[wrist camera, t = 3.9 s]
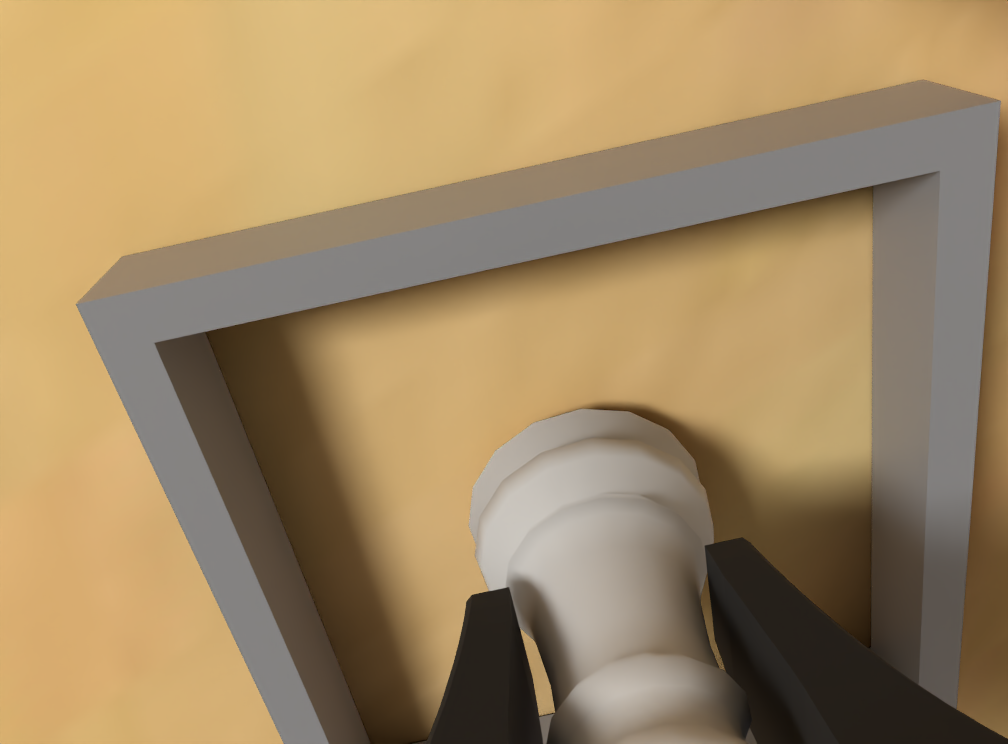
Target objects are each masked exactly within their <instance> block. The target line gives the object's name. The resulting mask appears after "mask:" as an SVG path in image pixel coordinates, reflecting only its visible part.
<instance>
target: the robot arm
mask: <svg viewBox="0 0 1008 744" xmlns="http://www.w3.org/2000/svg"><path fill="white" fill-rule="evenodd" d="M704 547H705V556H706V564H707V573H708V582H709V591H710V600H711V609H712V618H713V627H714V636H715V641H716V644H717V647H718V650H719V653H720V655H721V658H722V661H723V664H724V667H725V670H726V673H727V674H728V675H729V676H730V677H731V678H732V679H733V680H734V681H735V682H736V683H737V684H738V685H739V686H740V687H741V688H742V689H743V690H744V691H745V692H746V695H747V700H748V704H749V709H750V713H751V717H752V721H751V724H750V727H749V728H750V730H751V732H752V734H753V736H754V738H755V740H756V742H757V744H1008V739H1007V738H1005V737H1003V736H1001V735H999V734H998V733H996V732H994V731H992V730H990V729H988V728H987V727H985V726H983V725H981V724H980V723H978V722H976V721H975V720H973V719H971V718H970V717H968V716H967V715H965V714H963V713H962V712H960V711H958V710H957V709H955V708H954V707H952V706H950V705H949V704H947V703H945V702H944V701H942V700H941V699H939V698H938V697H936V696H935V695H933V694H932V693H930V692H929V691H927V690H926V689H924V688H923V687H921V686H920V685H918V684H917V683H915V682H914V681H912V680H911V679H909V678H908V677H907V676H905V675H904V674H902V673H901V672H899V671H898V670H897V669H895V668H894V667H893V666H891V665H890V664H888V663H887V662H886V661H884V660H883V659H882V658H880V657H879V656H878V655H876V654H875V653H874V652H873V651H871V650H870V649H869V648H867V647H866V646H865V645H863V644H862V643H861V642H859V641H858V640H857V639H856V638H854V637H853V636H852V635H851V634H849V633H848V632H847V631H846V630H844V629H843V628H842V627H841V626H840V625H838V624H837V623H836V622H835V621H834V620H833V619H831V618H830V617H829V616H828V615H827V614H825V613H824V612H823V611H822V610H821V609H820V608H818V607H817V606H816V605H815V604H814V603H813V602H811V601H810V600H809V599H808V598H807V597H806V596H805V595H804V594H802V593H801V592H800V591H799V590H798V589H797V588H796V587H795V586H794V585H793V584H792V583H790V582H789V581H788V580H787V579H786V578H785V577H784V576H783V575H782V574H781V573H780V572H779V571H778V570H777V569H776V568H775V567H774V566H773V565H772V564H771V563H770V562H769V561H768V560H766V559H765V557H764V556H763V555H762V554H761V553H760V552H759V551H758V550H757V549H756V548H755V547H754V546H753V545H752V544H751V543H750V542H749V541H747V540H745V539H744V538H738V539H733V540H728V541H724V542H719V543H714V544H709V545H705V546H704ZM426 744H543V737H542V731H541V725H540V719H539V713H538V707H537V701H536V695H535V689H534V684H533V678H532V674H531V670H530V666H529V662H528V658H527V654H526V650H525V647H524V643H523V639H522V635H521V631H520V627H519V623H518V619H517V615H516V612H515V608H514V604H513V600H512V596H511V592H510V588H509V587H507V588H502V589H497V590H493V591H488V592H483V593H479V594H474V595H472V596H471V597H470V598H469V599H468V601H467V602H466V610H465V617H464V622H463V627H462V632H461V636H460V640H459V645H458V648H457V652H456V656H455V660H454V663H453V667H452V670H451V673H450V677H449V680H448V683H447V686H446V689H445V693H444V696H443V699H442V702H441V705H440V708H439V711H438V714H437V716H436V719H435V722H434V724H433V727H432V729H431V732H430V735H429V737H428V740H427V742H426Z"/></svg>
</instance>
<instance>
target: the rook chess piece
mask: <svg viewBox="0 0 1008 744" xmlns="http://www.w3.org/2000/svg"><path fill="white" fill-rule="evenodd" d="M469 528H470V530H471V533H472V535H473V538H474V541H475V543H476V550H475V557H476V560H477V562H478V565H479V567H480V570H481V572H482V575H483V577H484V580H485V582H486V585H487V587H488V590H489V591H493V590H497V589H502V588H507V587H509V588H510V592H511V596H512V600H513V604H514V608H515V612H516V615H517V619H518V623H519V627H520V628H521V629H522V630H523V631H524V632H525V633H526V634H527V635H529V636H530V637H531V638H532V639H533V640H534V641H535V643H536V645H537V647H538V650H539V653H540V656H541V659H542V662H543V664H544V667H545V670H546V673H547V676H548V679H549V682H550V685H551V689H552V695H553V701H554V707H555V714H554V715H553V716H552V718H551V722H550V727H549V733H548V738H547V743H546V744H750V743H748V742H746V740H745V739H746V736H747V733H748V730H749V727H750V724H751V721H752V717H751V713H750V709H749V704H748V700H747V695H746V692H745V691H744V690H743V689H742V688H741V687H740V686H739V685H738V684H737V683H736V682H735V681H734V680H733V679H732V678H731V677H730V676H729V675H728V674H727V673H726V672H725V671H724V670H722V669H720V668H719V666H718V664H717V661H716V659H715V656H714V654H713V651H712V649H711V646H710V643H709V638H708V634H707V629H706V625H705V620H704V616H703V611H702V607H701V593H702V590H703V586H704V582H705V579H706V575H707V564H706V556H705V547H704V546H705V545H709V544H713V543H714V526H713V521H712V517H711V512H710V507H709V503H708V498H707V494H706V489H705V488H704V487H703V486H702V484H701V483H700V480H699V476H698V471H697V467H696V462H695V460H694V458H693V457H692V456H691V455H690V454H689V453H688V451H687V450H686V449H685V448H684V447H683V446H682V444H681V443H680V442H679V441H678V440H677V438H676V437H675V436H674V435H673V434H672V433H671V431H670V430H668V429H666V428H664V427H662V426H660V425H657V424H655V423H653V422H651V421H649V420H647V419H644V418H642V417H640V416H638V415H636V414H633V413H631V412H629V411H612V410H593V409H579V410H575V411H572V412H569V413H565V414H562V415H558V416H555V417H552V418H548V419H545V420H541V421H538V422H535V423H533V424H531V425H530V426H529V427H527V428H526V429H524V430H523V431H522V432H520V433H519V434H518V435H516V436H515V437H514V438H512V439H511V440H509V441H508V442H507V443H505V444H504V445H503V446H501V447H500V448H499V449H497V450H496V451H495V452H494V454H493V456H492V457H491V459H490V460H489V462H488V464H487V465H486V467H485V469H484V470H483V472H482V473H481V475H480V477H479V478H478V480H477V481H476V483H475V485H474V486H473V491H472V500H471V509H470V519H469Z"/></svg>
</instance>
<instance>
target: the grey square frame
mask: <svg viewBox="0 0 1008 744" xmlns="http://www.w3.org/2000/svg"><path fill="white" fill-rule="evenodd" d="M1000 103H1001V101H1000V100H996V99H992V98H989V97H985V96H982V95H978V94H974V93H971V92H967V91H963V90H960V89H956V88H952V87H949V86H945V85H941V84H938V83H934V82H930V81H927V80H920V81H916V82H911V83H907V84H902V85H898V86H893V87H888V88H884V89H879V90H875V91H870V92H866V93H861V94H857V95H852V96H848V97H843V98H839V99H834V100H830V101H825V102H821V103H816V104H811V105H807V106H802V107H798V108H793V109H789V110H784V111H780V112H775V113H771V114H766V115H762V116H757V117H753V118H748V119H744V120H739V121H734V122H730V123H725V124H721V125H716V126H712V127H707V128H703V129H698V130H694V131H689V132H685V133H680V134H676V135H671V136H667V137H662V138H657V139H653V140H648V141H644V142H639V143H635V144H630V145H626V146H621V147H617V148H612V149H608V150H603V151H599V152H594V153H590V154H585V155H580V156H576V157H571V158H567V159H562V160H558V161H553V162H549V163H544V164H540V165H535V166H531V167H526V168H522V169H517V170H513V171H508V172H503V173H499V174H494V175H490V176H485V177H481V178H476V179H472V180H467V181H463V182H458V183H454V184H449V185H445V186H440V187H436V188H431V189H426V190H422V191H417V192H413V193H408V194H404V195H399V196H395V197H390V198H386V199H381V200H377V201H372V202H368V203H363V204H359V205H354V206H349V207H345V208H340V209H336V210H331V211H327V212H322V213H318V214H313V215H309V216H304V217H300V218H295V219H291V220H286V221H282V222H277V223H272V224H268V225H263V226H259V227H254V228H250V229H245V230H241V231H236V232H232V233H227V234H223V235H218V236H214V237H209V238H204V239H200V240H195V241H191V242H186V243H182V244H177V245H173V246H168V247H164V248H159V249H155V250H150V251H146V252H141V253H137V254H132V255H127V256H123V257H121V258H120V259H119V260H118V261H117V262H116V263H115V264H114V265H113V266H112V267H111V269H110V270H109V271H108V272H107V273H106V274H105V275H104V276H103V277H102V278H101V279H100V280H99V281H98V282H97V283H96V284H95V285H94V286H93V287H92V288H91V289H90V290H89V291H88V292H87V293H86V294H85V295H84V296H83V297H82V298H81V299H80V300H79V301H78V302H77V304H76V306H77V308H78V310H79V312H80V314H81V316H82V318H83V320H84V322H85V325H86V327H87V329H88V331H89V333H90V335H91V337H92V339H93V341H94V344H95V346H96V348H97V350H98V352H99V354H100V356H101V358H102V360H103V363H104V365H105V367H106V369H107V371H108V373H109V375H110V377H111V380H112V382H113V384H114V386H115V388H116V390H117V392H118V394H119V396H120V399H121V401H122V403H123V405H124V407H125V409H126V411H127V413H128V415H129V418H130V420H131V422H132V424H133V426H134V428H135V430H136V432H137V434H138V437H139V439H140V441H141V443H142V445H143V447H144V449H145V451H146V453H147V456H148V458H149V460H150V462H151V464H152V466H153V468H154V470H155V472H156V475H157V477H158V479H159V481H160V483H161V485H162V487H163V489H164V491H165V494H166V496H167V498H168V500H169V502H170V504H171V506H172V508H173V510H174V513H175V515H176V517H177V519H178V521H179V523H180V525H181V527H182V530H183V532H184V534H185V536H186V538H187V540H188V542H189V544H190V546H191V549H192V551H193V553H194V555H195V557H196V559H197V561H198V563H199V565H200V568H201V570H202V572H203V574H204V576H205V578H206V580H207V582H208V584H209V587H210V589H211V591H212V593H213V595H214V597H215V599H216V601H217V603H218V606H219V608H220V610H221V612H222V614H223V616H224V618H225V620H226V622H227V625H228V627H229V629H230V631H231V633H232V635H233V637H234V639H235V641H236V644H237V646H238V648H239V650H240V652H241V654H242V656H243V658H244V660H245V663H246V665H247V667H248V669H249V671H250V673H251V675H252V677H253V679H254V682H255V684H256V686H257V688H258V690H259V692H260V694H261V696H262V699H263V701H264V703H265V705H266V707H267V709H268V711H269V713H270V715H271V718H272V720H273V722H274V724H275V726H276V728H277V730H278V732H279V734H280V737H281V739H282V741H283V743H284V744H371V743H370V740H369V738H368V735H367V733H366V730H365V728H364V725H363V723H362V720H361V718H360V715H359V713H358V711H357V708H356V706H355V703H354V701H353V698H352V696H351V693H350V691H349V688H348V686H347V683H346V681H345V678H344V676H343V673H342V671H341V668H340V666H339V663H338V661H337V658H336V656H335V653H334V651H333V648H332V646H331V643H330V641H329V638H328V636H327V633H326V631H325V629H324V626H323V624H322V621H321V619H320V616H319V614H318V611H317V609H316V606H315V604H314V601H313V599H312V596H311V594H310V591H309V589H308V586H307V584H306V581H305V579H304V576H303V574H302V571H301V569H300V566H299V564H298V561H297V559H296V556H295V554H294V552H293V549H292V547H291V544H290V542H289V539H288V537H287V534H286V532H285V529H284V527H283V524H282V522H281V519H280V517H279V514H278V512H277V509H276V507H275V504H274V502H273V499H272V497H271V494H270V492H269V489H268V487H267V484H266V482H265V479H264V477H263V474H262V472H261V470H260V467H259V465H258V462H257V460H256V457H255V455H254V452H253V450H252V447H251V445H250V442H249V440H248V437H247V435H246V432H245V430H244V427H243V425H242V422H241V420H240V417H239V415H238V412H237V410H236V407H235V405H234V402H233V400H232V397H231V395H230V393H229V390H228V388H227V385H226V383H225V380H224V378H223V375H222V373H221V370H220V368H219V365H218V363H217V360H216V358H215V355H214V353H213V350H212V348H211V345H210V343H209V340H208V338H207V335H206V333H205V332H206V331H211V330H215V329H220V328H224V327H229V326H233V325H238V324H243V323H247V322H252V321H256V320H261V319H265V318H270V317H275V316H279V315H284V314H288V313H293V312H297V311H302V310H306V309H311V308H316V307H320V306H325V305H329V304H334V303H338V302H343V301H348V300H352V299H357V298H361V297H366V296H370V295H375V294H380V293H384V292H389V291H393V290H398V289H402V288H407V287H412V286H416V285H421V284H425V283H430V282H434V281H439V280H444V279H448V278H453V277H457V276H462V275H466V274H471V273H476V272H480V271H485V270H489V269H494V268H498V267H503V266H508V265H512V264H517V263H521V262H526V261H530V260H535V259H540V258H544V257H549V256H553V255H558V254H562V253H567V252H571V251H576V250H581V249H585V248H590V247H594V246H599V245H603V244H608V243H613V242H617V241H622V240H626V239H631V238H635V237H640V236H645V235H649V234H654V233H658V232H663V231H667V230H672V229H677V228H681V227H686V226H690V225H695V224H699V223H704V222H709V221H713V220H718V219H722V218H727V217H731V216H736V215H741V214H745V213H750V212H754V211H759V210H763V209H768V208H773V207H777V206H782V205H786V204H791V203H795V202H800V201H805V200H809V199H814V198H818V197H823V196H827V195H832V194H836V193H841V192H846V191H850V190H855V189H859V188H864V187H868V186H873V332H872V554H871V647H870V648H869V649H870V650H871V651H873V652H874V653H875V654H876V655H878V656H879V657H880V658H882V659H883V660H884V661H886V662H887V663H888V664H890V665H891V666H893V667H894V668H895V669H897V670H898V671H899V672H901V673H902V674H904V675H905V676H907V677H908V678H909V679H911V680H912V681H914V682H915V683H917V684H918V685H920V686H921V687H923V688H924V689H926V690H927V691H929V692H930V693H932V694H933V695H935V696H936V697H938V698H939V699H941V700H942V701H944V702H945V703H947V704H949V705H950V706H952V707H954V708H955V709H957V697H958V683H959V669H960V655H961V641H962V628H963V614H964V600H965V586H966V572H967V559H968V545H969V531H970V517H971V503H972V490H973V476H974V462H975V448H976V434H977V421H978V407H979V393H980V379H981V365H982V352H983V338H984V324H985V310H986V296H987V283H988V269H989V255H990V241H991V227H992V214H993V200H994V186H995V172H996V158H997V145H998V131H999V117H1000ZM553 715H554V714H551V715H546V716H541V717H539V719H540V725H541V731H542V737H543V744H546V743H547V738H548V733H549V727H550V722H551V718H552V716H553ZM745 740H746V742H748V743H750V744H757V742H756V740H755V738H754V736H753V734H752V732H751V730H750V728H749V730H748V733H747V736H746V739H745ZM426 742H427V741H422V742H417V743H412V744H426Z"/></svg>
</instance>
